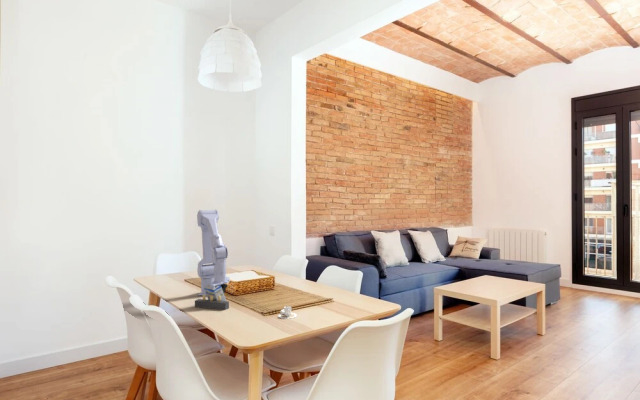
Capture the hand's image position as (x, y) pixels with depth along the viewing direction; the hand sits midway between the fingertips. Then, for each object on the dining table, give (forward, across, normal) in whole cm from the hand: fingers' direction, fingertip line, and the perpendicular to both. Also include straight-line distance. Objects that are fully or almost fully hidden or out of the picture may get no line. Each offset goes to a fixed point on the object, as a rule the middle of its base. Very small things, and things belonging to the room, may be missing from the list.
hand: (220, 299), depth 185 cm
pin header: (+1, -8, 0) cm, 8 cm away
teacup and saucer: (+1, -8, -40) cm, 40 cm away
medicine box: (+1, -2, 0) cm, 3 cm away
